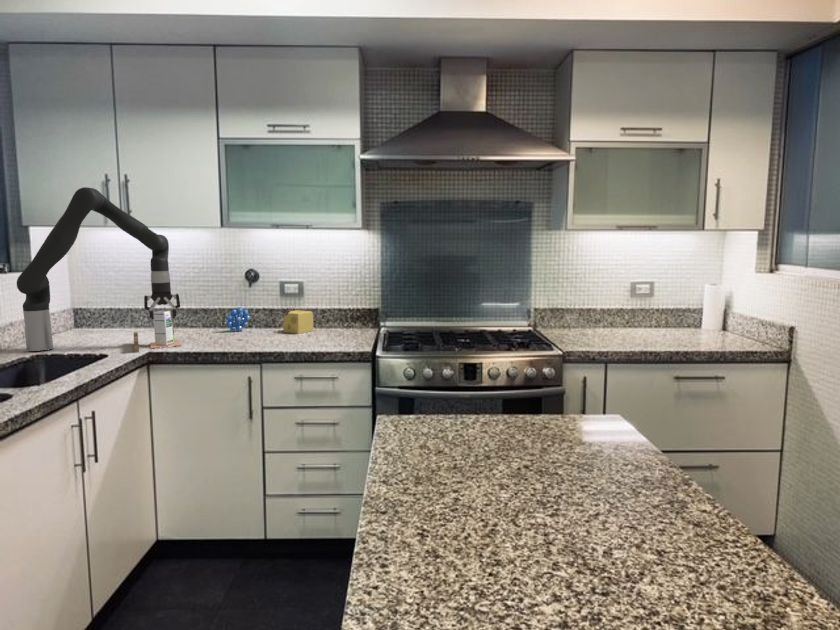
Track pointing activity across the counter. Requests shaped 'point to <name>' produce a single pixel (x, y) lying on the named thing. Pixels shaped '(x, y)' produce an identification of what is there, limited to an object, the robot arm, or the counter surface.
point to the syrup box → (163, 327)
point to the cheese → (298, 322)
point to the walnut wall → (136, 342)
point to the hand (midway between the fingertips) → (163, 318)
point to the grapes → (238, 319)
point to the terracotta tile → (176, 343)
